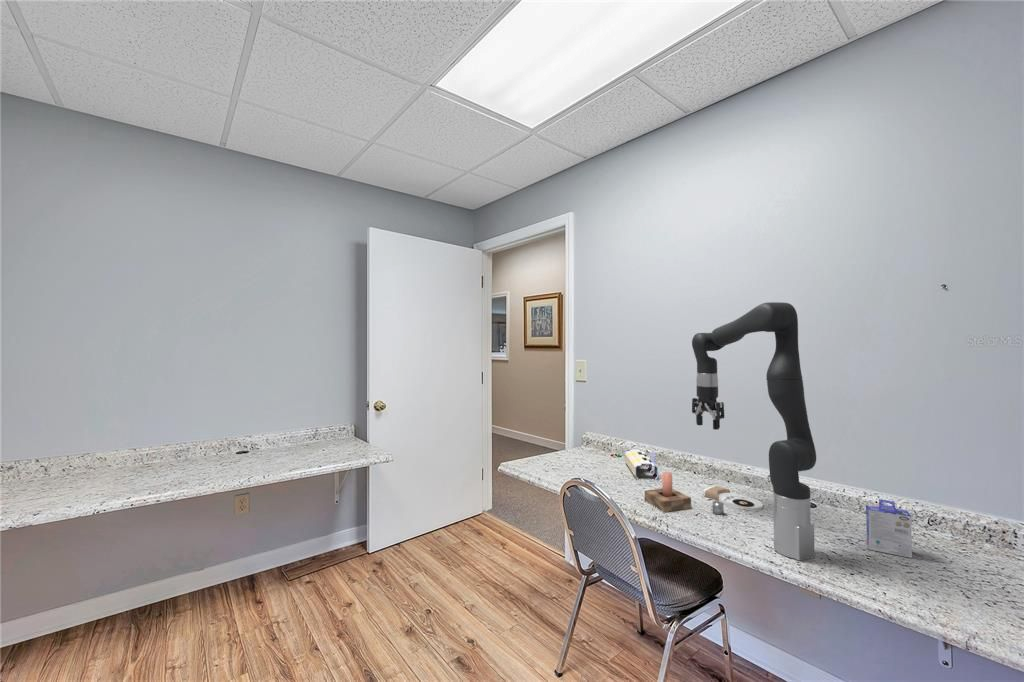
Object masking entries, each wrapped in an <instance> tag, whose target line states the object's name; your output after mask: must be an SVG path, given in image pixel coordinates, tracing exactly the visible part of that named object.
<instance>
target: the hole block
mask: <svg viewBox="0 0 1024 682" xmlns="http://www.w3.org/2000/svg"><path fill="white" fill-rule="evenodd" d="M646 501H647V502H648V504H649V503H650V505H651V504H652V505H653V506H652V505H651V506H652V507H654V506H655V507H654V508H656V507H657V508H658V509H657V508H656V509H657V510H659V509H660V510H659V511H661V510H662V511H663V512H662V511H661V512H662V513H668V512H667V511H671V512H676V511H675V510H678V511H683V510H682V509H685V510H690V508H691V509H692V497H690V496H688V495H686V494H684V493H682V492H680V491H678V490H676V489H674V488H672V497H664V496H663V494H662V488H655V489H646V490H644V502H646ZM647 502H646V503H647Z"/></svg>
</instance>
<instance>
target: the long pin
mask: <svg viewBox="0 0 1024 682" xmlns="http://www.w3.org/2000/svg"><path fill="white" fill-rule="evenodd" d="M661 475H662V477H661V478H662V480H661V481H662V494H663V496H664V497H672V489H673V473H672V472H668V471H664V472H663V471H662V474H661Z"/></svg>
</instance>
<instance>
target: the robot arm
mask: <svg viewBox="0 0 1024 682" xmlns="http://www.w3.org/2000/svg"><path fill="white" fill-rule="evenodd" d="M759 332H765V333H774V337H775V349H774V350H775V351H774V354H773V357H772V359H771V361H770V363H769V365H768V367H767V372H766V375H765V376H766V385H767V386H766V387H767V393H768V397H769V399H770V401H771V402H772V405H773V406H774V408H775V409H776V410H777V412H778V413H779V415H780V417H781V419H782V421H783V422H784V426H785V432H786V439H782V440H777V441H774V442H773V443H772V444H771V445H770V447H769V450H768V466H769V467H768V468H769V479H770V482H771V485H772V491H773V494H772V497H773V499H772V500H773V501H772V504H773V508H772V509H773V549H774V550H775V552H777V553H779V554H780V555H782V556H785V557H788V558H792V559H795V560H797V561H802V560H803V561H804V560H808V559H813V558H815V525H814V524H813V523H812V522H811V520H812V518H811V517H812V516H811V489H810V486H809V485H807V484H805V483H803V482H800V475H799V472H806V471H809V470H812V469H813V468H814V467H815V465H816V462H817V452H816V447H815V443H814V438H813V435H812V432H811V428H810V427H811V426H810V423H809V417H808V411H807V404H806V399H805V388H804V380H803V374H802V368H801V361H800V360H801V359H800V351H799V319H798V313H797V311H796V308H795V307H794V306H793V304H791V303H789V302H777V301H776V302H763V303H761V304H758V305H756V306H755V307H753V308H752V309H751V310H749V311H748V312H746V313H745V314H743V315H742V316H740V317H739V318H737V319H734V320H733V321H730V322H728V323H726V324H723V325H720V326H719V327H716V328H715V329H713V330H712V332H698V333H695V334H694V335H693V337H692V340H691V347H692V350H693V354H694V356H695V357H694V358H695V360H696V381H695V382H696V397H693V398H692V399H691V401H692V402H691V413H692V414H694V415H695V416H696V417H695V421H696V425H697V426H703V423H704V422H703V421H704V420H703V414H704V413H705V412H707V413H708V414H710V416H711V417H712V429H713V430H719V429H720V427H721V425H720V424H721V423H720V422H721V421H720V420H722V419H725V404H724V402H723V401H719V402H718V400H717V399H718V398H719V376H718V360H717V359H716V358H715V357H712V356H711V357H710V356H709V354H708V352H716V351H719V350H721V349H722V348H724V347H726V346H727V345H731V344H733V343H736V342H739V341H740V340H741V339H743V338H744V337H745V336H746V335H748V334H749V335H750V334H752V333H759Z"/></svg>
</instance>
